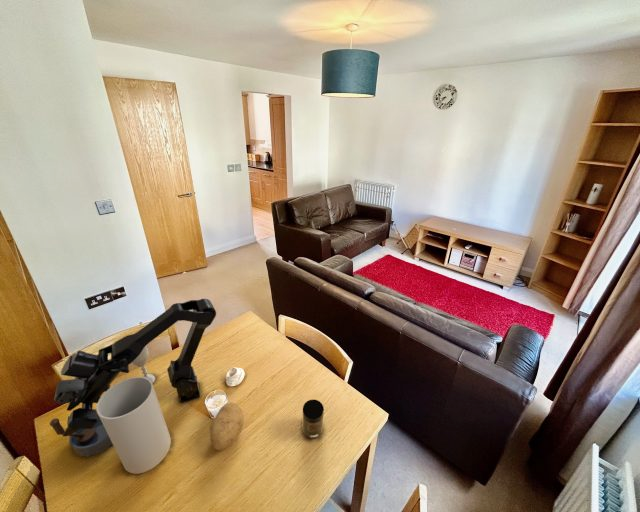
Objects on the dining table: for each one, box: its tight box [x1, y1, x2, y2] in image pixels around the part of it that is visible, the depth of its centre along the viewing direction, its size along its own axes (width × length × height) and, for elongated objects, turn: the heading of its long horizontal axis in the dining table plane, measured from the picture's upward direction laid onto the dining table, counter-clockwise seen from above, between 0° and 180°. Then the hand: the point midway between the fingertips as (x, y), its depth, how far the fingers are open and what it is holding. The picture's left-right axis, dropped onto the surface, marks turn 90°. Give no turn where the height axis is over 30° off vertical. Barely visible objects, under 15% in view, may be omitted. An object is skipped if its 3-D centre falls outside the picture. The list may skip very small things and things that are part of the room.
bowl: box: [68, 415, 113, 457], centre depth 86 cm, size 13×13×4 cm
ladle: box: [49, 417, 96, 444], centre depth 82 cm, size 8×4×12 cm, turn 124°
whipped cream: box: [225, 366, 246, 387], centre depth 106 cm, size 8×7×5 cm
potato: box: [209, 402, 244, 451], centre depth 87 cm, size 10×14×8 cm
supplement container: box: [302, 399, 325, 440], centre depth 88 cm, size 7×7×10 cm
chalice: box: [131, 345, 156, 384], centre depth 102 cm, size 7×7×18 cm
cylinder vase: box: [95, 376, 172, 475], centre depth 78 cm, size 12×12×25 cm
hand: (66, 422), depth 80 cm, fingers open, 9 cm apart
